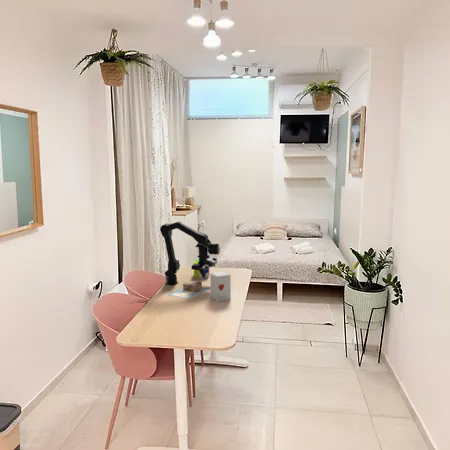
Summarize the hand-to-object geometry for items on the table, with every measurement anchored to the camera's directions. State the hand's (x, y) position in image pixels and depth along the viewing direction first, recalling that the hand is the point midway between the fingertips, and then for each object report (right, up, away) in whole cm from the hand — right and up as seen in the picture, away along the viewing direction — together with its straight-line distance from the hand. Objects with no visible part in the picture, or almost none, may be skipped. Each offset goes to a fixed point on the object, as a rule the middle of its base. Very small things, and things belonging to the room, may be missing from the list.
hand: (203, 277), depth 278 cm
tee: (-5, -6, -8) cm, 11 cm away
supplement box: (+11, -9, -27) cm, 30 cm away
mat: (-9, -7, -13) cm, 17 cm away
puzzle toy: (-3, -2, +24) cm, 24 cm away
